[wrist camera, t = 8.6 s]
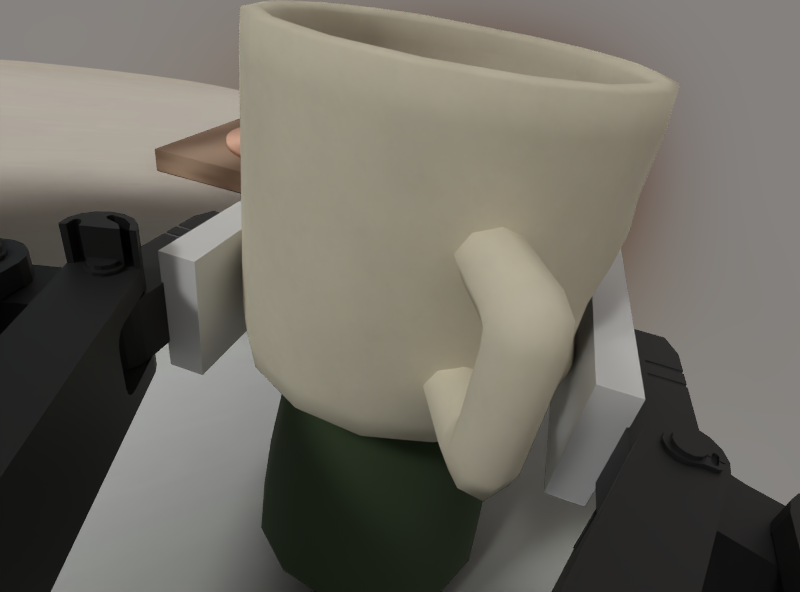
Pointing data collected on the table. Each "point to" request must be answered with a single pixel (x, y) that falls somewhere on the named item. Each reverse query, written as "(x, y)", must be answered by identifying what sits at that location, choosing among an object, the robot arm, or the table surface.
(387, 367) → the character mug
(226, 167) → the walnut board
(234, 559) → the table surface
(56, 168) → the table surface
